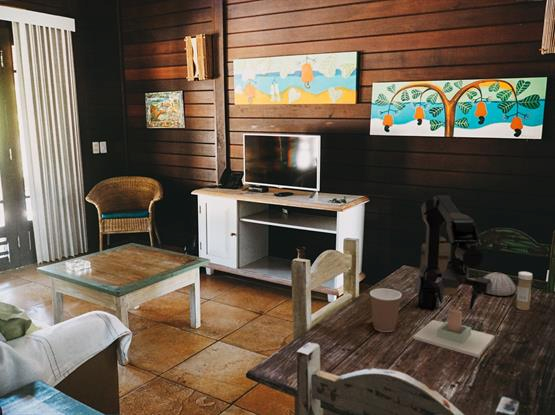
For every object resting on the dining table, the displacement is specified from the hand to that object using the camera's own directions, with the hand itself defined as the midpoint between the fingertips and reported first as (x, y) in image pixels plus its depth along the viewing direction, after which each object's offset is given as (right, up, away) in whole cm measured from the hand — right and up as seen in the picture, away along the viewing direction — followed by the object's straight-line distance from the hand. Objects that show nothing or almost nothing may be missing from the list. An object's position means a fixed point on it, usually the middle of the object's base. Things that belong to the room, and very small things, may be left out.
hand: (455, 306), depth 152 cm
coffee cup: (-20, -10, +10) cm, 25 cm away
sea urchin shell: (+32, -3, +43) cm, 54 cm away
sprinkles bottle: (+34, -6, +27) cm, 44 cm away
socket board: (0, -11, +2) cm, 11 cm away
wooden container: (+10, -3, +47) cm, 48 cm away
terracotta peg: (0, -10, +2) cm, 10 cm away
